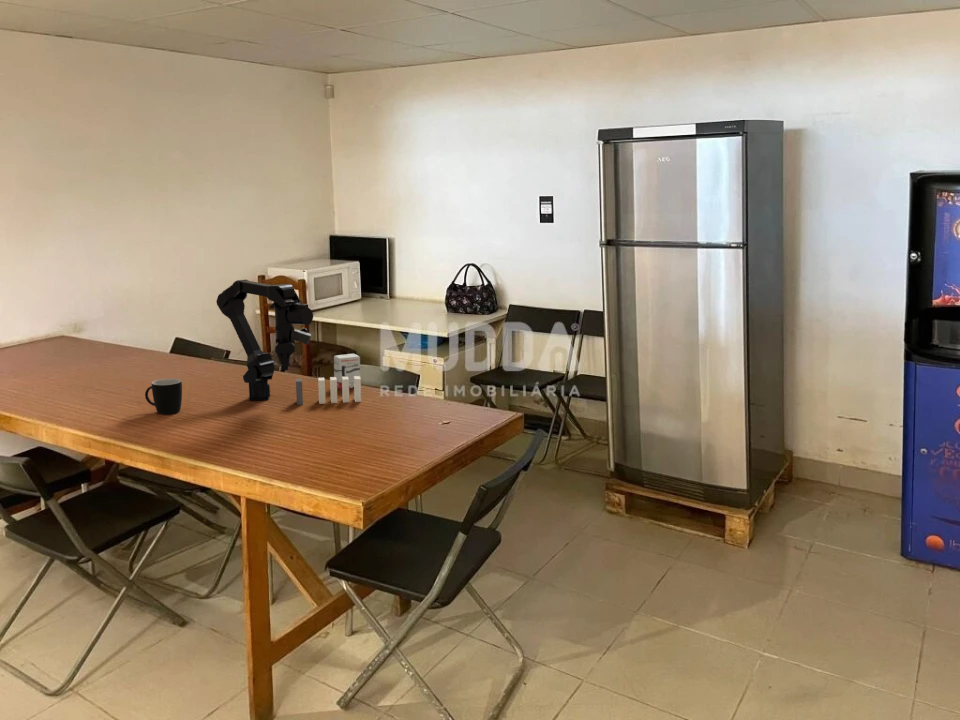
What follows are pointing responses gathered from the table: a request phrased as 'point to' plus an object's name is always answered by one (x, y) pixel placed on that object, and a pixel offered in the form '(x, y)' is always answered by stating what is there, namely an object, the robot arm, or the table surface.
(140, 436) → the table surface
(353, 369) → the ink box
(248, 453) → the table surface
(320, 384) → the domino
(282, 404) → the table surface
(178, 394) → the mug
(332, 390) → the domino
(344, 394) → the domino
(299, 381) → the domino
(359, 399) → the domino
